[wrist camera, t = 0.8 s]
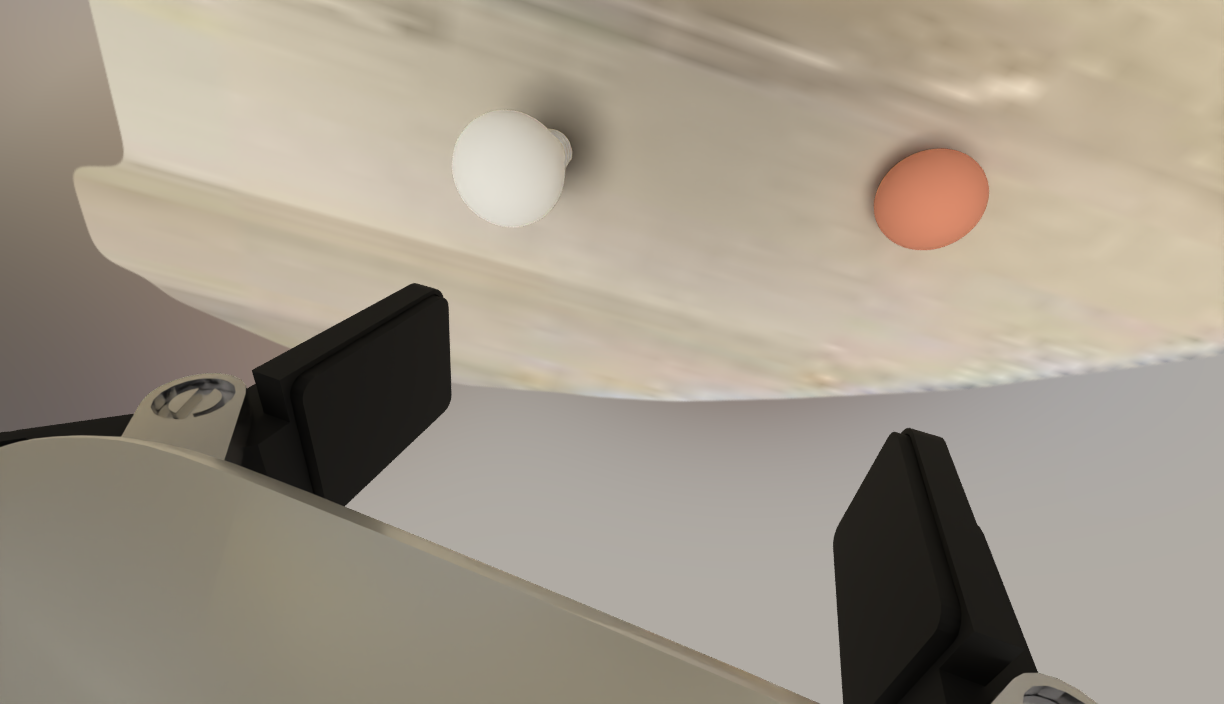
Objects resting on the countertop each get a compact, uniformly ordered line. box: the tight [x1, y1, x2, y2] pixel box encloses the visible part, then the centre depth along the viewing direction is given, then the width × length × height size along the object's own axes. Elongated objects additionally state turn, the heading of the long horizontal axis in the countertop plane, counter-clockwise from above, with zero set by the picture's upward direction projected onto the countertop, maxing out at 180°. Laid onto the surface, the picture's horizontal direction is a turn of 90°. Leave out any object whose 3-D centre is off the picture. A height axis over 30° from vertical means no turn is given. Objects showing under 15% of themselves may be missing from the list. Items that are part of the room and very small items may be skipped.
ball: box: [874, 149, 989, 250], centre depth 29 cm, size 6×6×6 cm
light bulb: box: [452, 110, 572, 227], centre depth 32 cm, size 7×7×11 cm
